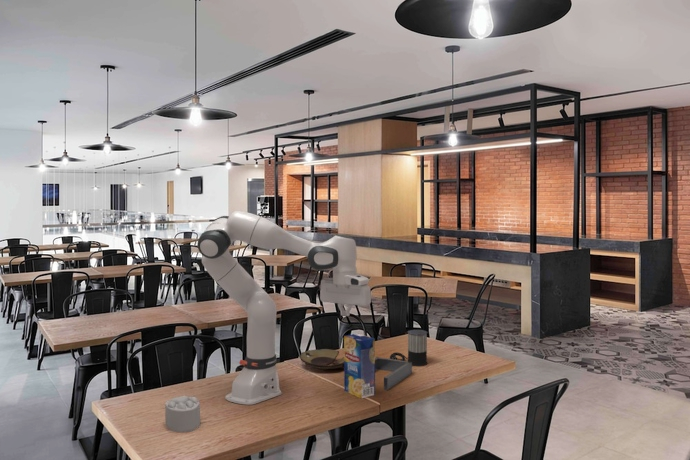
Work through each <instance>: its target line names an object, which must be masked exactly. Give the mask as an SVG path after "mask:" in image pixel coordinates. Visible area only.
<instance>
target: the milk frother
mask: <svg viewBox="0 0 690 460" xmlns="http://www.w3.org/2000/svg"><path fill="white" fill-rule="evenodd" d="M427 334H428V331H426V330H423V329H410V330H408V331H407V342H408V343H407V348H408V349H407V351H408V352H407V354H408V355H407V356H408V357H406V356H405V355H404V354H403V353H400V352H393V353H391V354H390V356H389V359H394V360H399V359H398V357H397V356H399V357H401V358H402V359H401V361H406V360H407V362H412V366H415V367H422V366H426V365H428V358H427V357H428V356H427V355H428V353H427V352H428V351H427V350H428V349H427V346H428V342H427V341H428V340H427V337H428V336H427Z"/></svg>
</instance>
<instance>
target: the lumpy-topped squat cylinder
mask: <svg viewBox="0 0 690 460" xmlns="http://www.w3.org/2000/svg"><path fill="white" fill-rule="evenodd" d="M199 401H200V400H198V398H197V396H189V395H182V396H177V397H176V396H175V397H172V398H171V399H169V400H167V401H166V402H165V403H164V406H165V407H164V408H165V409H164V414H165V420H164V421H165V427H166V428H167V429H168V430H170V431H172V432H176V433H188V432H193V431H195V430H197V429H198V428H199V427H200V426H201V407H200V406H201V403H200V402H199Z"/></svg>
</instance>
